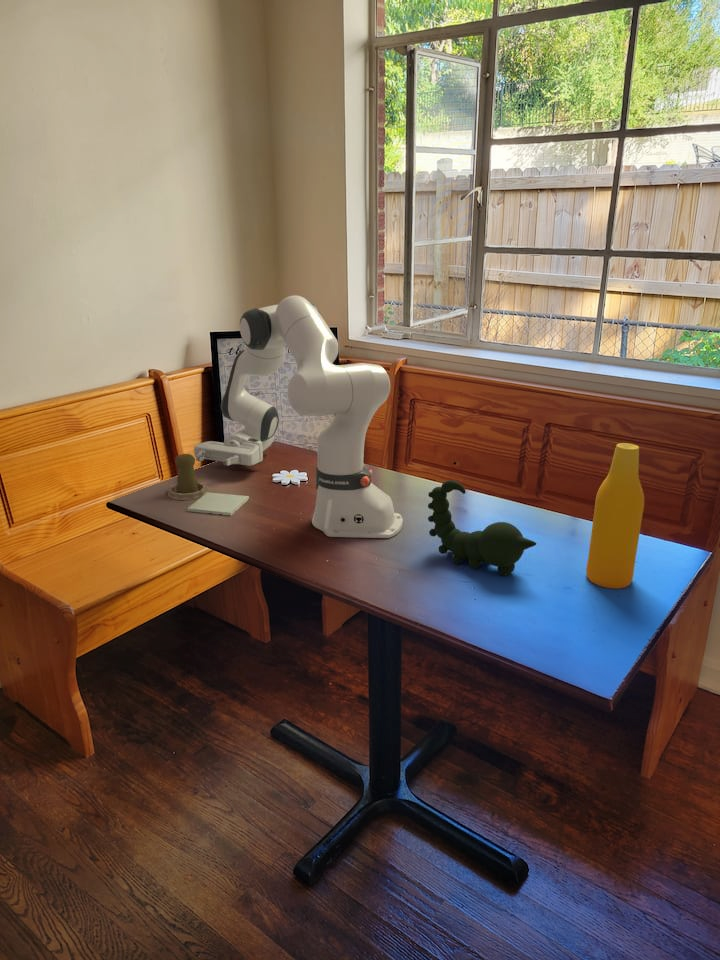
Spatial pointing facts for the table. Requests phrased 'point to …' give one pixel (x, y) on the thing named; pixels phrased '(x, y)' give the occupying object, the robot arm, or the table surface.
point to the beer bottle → (617, 521)
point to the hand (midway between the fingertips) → (211, 460)
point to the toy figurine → (475, 536)
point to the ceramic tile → (218, 503)
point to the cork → (186, 474)
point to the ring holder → (187, 495)
